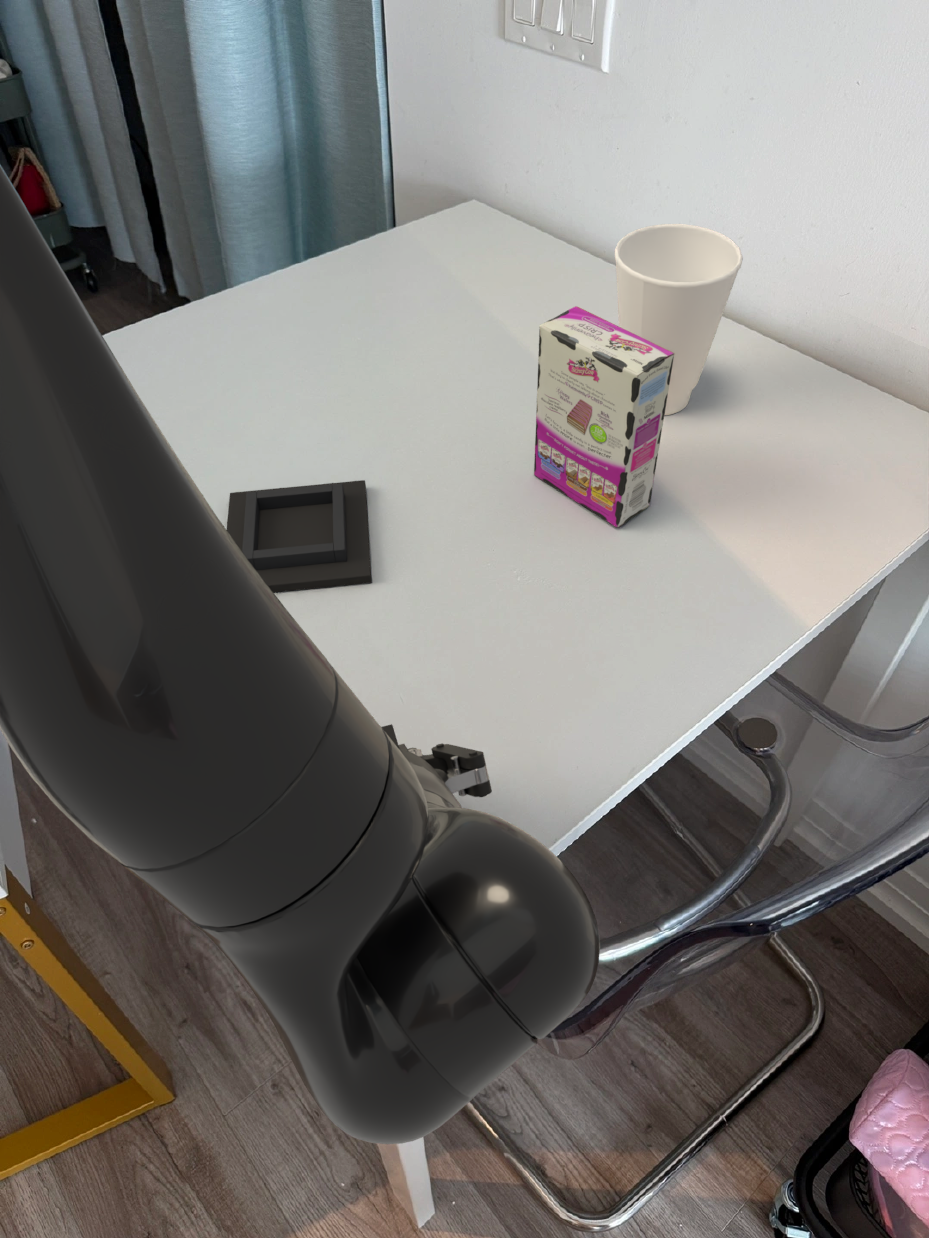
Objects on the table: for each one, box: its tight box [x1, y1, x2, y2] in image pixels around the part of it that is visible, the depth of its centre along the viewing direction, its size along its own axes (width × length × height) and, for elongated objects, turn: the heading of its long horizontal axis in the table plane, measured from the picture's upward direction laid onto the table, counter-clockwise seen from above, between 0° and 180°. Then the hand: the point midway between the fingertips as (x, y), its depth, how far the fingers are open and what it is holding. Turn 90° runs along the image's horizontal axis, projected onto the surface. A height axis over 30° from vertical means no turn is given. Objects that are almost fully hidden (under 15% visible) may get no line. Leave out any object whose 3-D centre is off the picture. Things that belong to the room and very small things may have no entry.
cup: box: [614, 223, 744, 416], centre depth 91 cm, size 12×12×16 cm
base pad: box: [226, 479, 373, 594], centre depth 83 cm, size 13×13×2 cm
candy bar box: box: [533, 305, 675, 528], centre depth 81 cm, size 11×5×16 cm, turn 43°
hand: (365, 768), depth 62 cm, fingers closed on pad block, 4 cm apart
